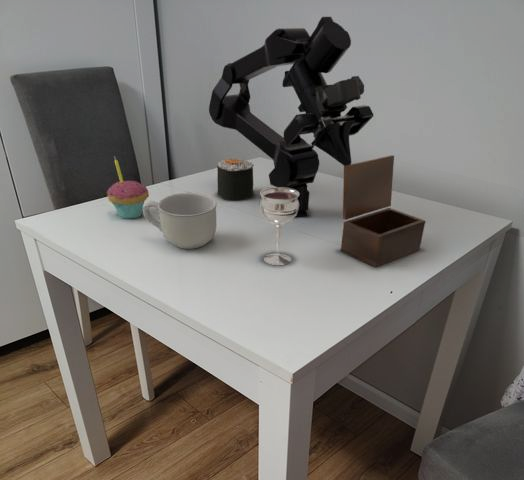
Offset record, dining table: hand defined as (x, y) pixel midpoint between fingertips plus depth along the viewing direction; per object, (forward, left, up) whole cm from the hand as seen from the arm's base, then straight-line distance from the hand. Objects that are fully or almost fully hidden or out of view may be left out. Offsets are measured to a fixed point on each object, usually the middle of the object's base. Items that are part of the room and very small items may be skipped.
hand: (348, 165), depth 91 cm
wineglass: (-15, -10, -14) cm, 23 cm away
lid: (+3, -5, -3) cm, 6 cm away
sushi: (-19, +27, -14) cm, 35 cm away
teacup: (-32, 0, -14) cm, 35 cm away
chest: (+5, -9, -13) cm, 17 cm away
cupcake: (-43, +16, -14) cm, 48 cm away
